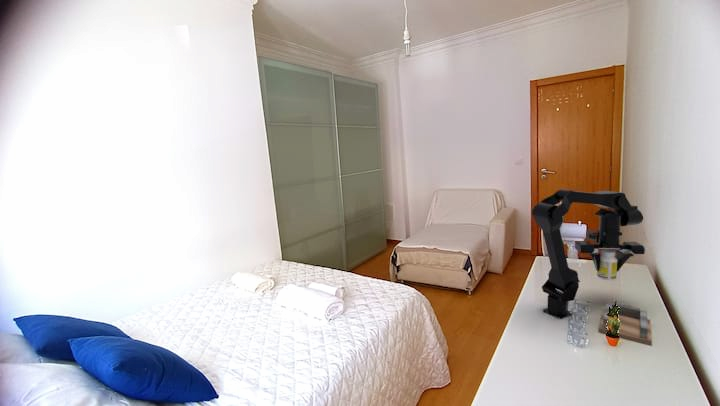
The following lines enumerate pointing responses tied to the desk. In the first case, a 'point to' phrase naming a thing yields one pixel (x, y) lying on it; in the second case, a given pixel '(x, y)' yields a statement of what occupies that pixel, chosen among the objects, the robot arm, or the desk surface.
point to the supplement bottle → (607, 265)
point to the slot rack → (629, 323)
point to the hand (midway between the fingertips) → (606, 270)
